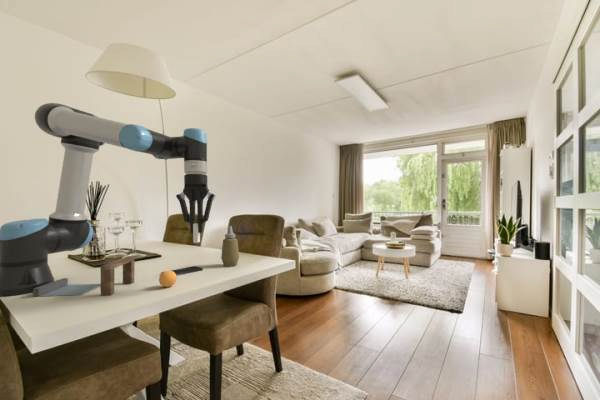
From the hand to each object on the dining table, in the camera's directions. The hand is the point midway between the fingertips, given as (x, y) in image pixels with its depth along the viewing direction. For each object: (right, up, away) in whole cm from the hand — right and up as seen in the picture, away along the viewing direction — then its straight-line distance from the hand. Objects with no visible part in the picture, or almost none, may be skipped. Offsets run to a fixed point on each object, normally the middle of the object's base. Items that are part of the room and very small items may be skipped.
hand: (196, 242), depth 96 cm
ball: (-9, -12, -1) cm, 16 cm away
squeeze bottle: (+4, -16, +31) cm, 35 cm away
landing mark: (-39, -15, -4) cm, 42 cm away
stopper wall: (-47, -15, -4) cm, 49 cm away
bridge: (-25, -15, -2) cm, 30 cm away
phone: (-13, -16, +20) cm, 29 cm away
